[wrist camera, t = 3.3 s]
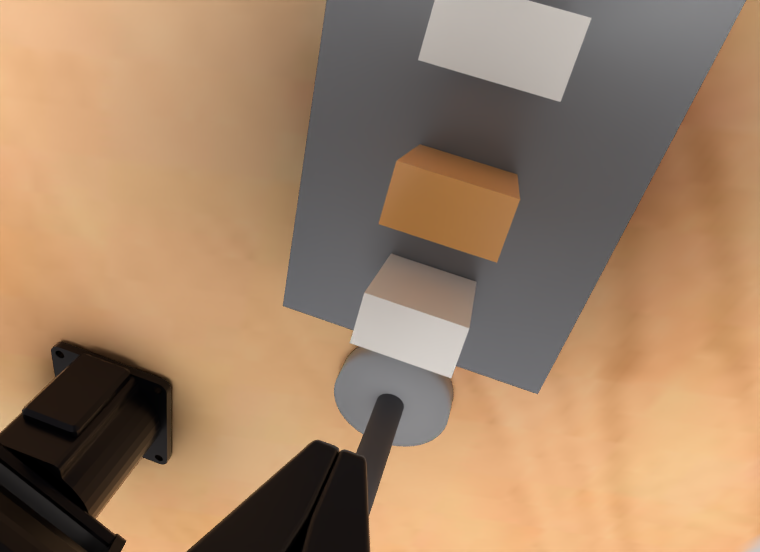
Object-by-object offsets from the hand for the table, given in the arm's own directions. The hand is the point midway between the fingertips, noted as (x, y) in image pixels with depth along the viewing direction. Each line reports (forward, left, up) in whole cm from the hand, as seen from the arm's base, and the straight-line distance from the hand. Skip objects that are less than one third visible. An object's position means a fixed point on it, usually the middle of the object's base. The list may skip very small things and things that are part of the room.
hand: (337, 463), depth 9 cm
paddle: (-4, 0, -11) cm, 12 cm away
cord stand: (-11, 0, -13) cm, 17 cm away
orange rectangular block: (0, 0, -11) cm, 11 cm away
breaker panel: (0, 0, -13) cm, 13 cm away
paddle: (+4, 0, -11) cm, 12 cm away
